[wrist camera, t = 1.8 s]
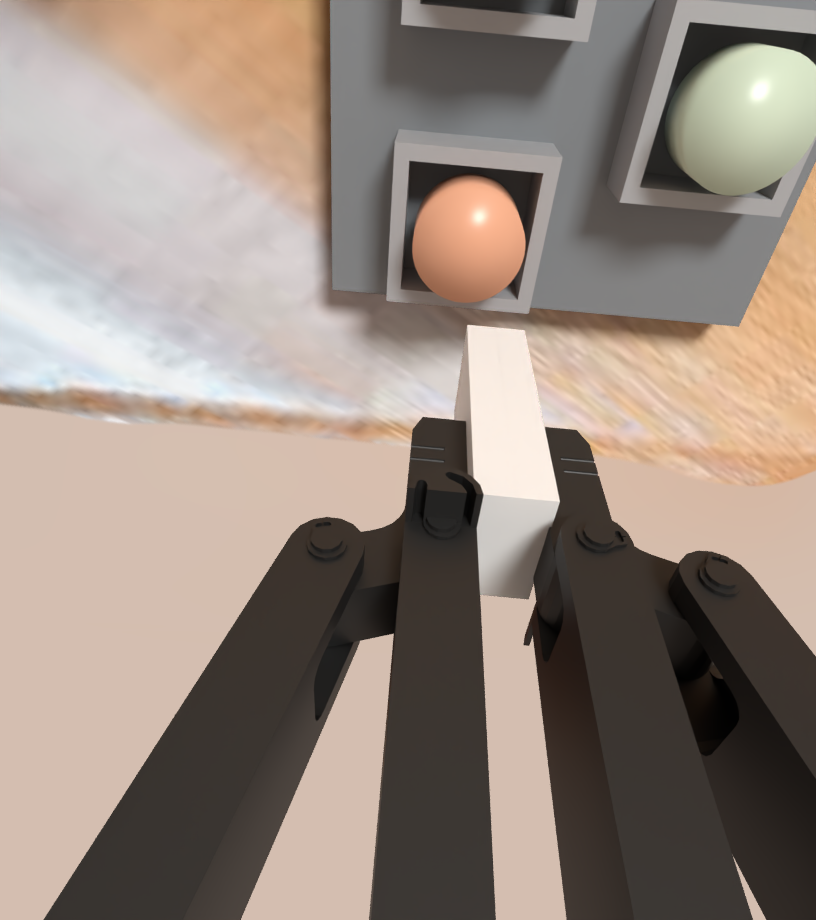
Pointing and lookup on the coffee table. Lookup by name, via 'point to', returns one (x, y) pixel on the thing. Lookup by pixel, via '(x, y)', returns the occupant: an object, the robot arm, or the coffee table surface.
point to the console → (551, 148)
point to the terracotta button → (468, 238)
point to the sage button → (743, 117)
